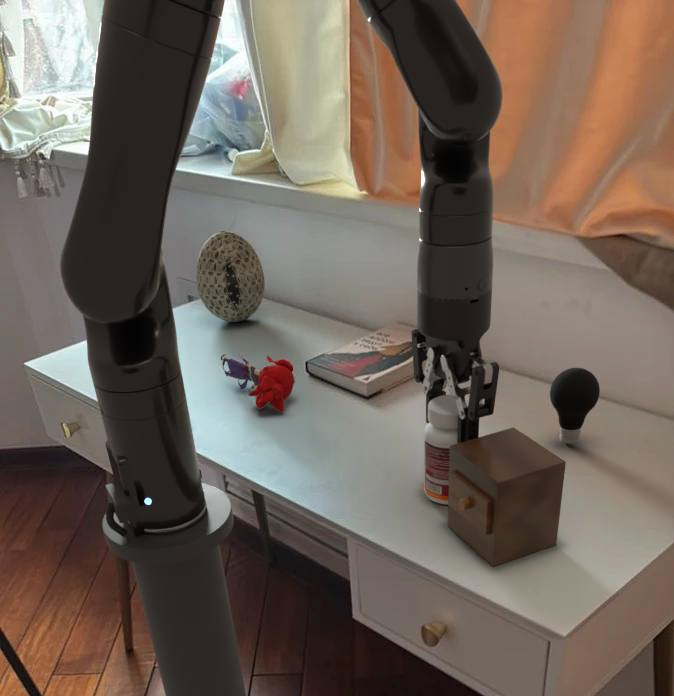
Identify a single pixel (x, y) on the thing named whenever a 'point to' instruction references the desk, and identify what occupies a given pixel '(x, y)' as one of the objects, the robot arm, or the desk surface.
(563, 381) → the light bulb
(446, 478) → the pill bottle
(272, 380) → the figurine
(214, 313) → the decorative egg
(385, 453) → the desk surface
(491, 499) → the box
